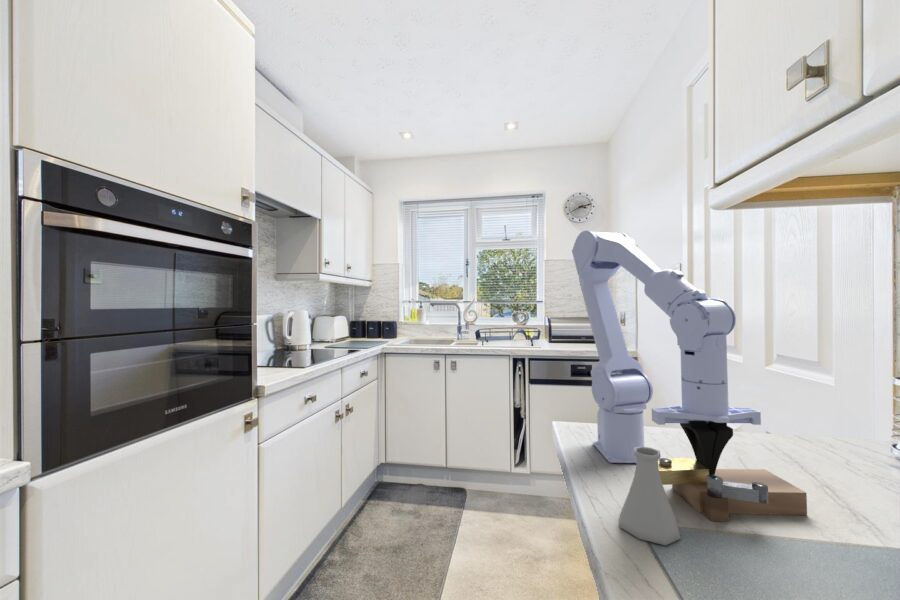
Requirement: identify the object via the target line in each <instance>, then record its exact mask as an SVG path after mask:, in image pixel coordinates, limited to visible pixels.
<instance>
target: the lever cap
mask: <svg viewBox="0 0 900 600" xmlns="http://www.w3.org/2000/svg"><path fill="white" fill-rule="evenodd" d="M658 469H659V474H660V479H661V482H662V485H663V486H665V485H667V486H668V485H671V486H672V484H700V483H707V481H706V476H707V475H709V469H708V468H706V467H705V466H703V465H702V464H700V463H699V462H697V460H696V458H693V457H672V458H671V457H667V458H665V457H660V459H658Z"/></svg>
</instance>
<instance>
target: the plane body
mask: <svg viewBox="0 0 900 600" xmlns="http://www.w3.org/2000/svg"><path fill="white" fill-rule="evenodd" d="M715 476H719V477H721V478H722V479H723V481H725V482H733V483H741V484H749V485H752V482H759V483H763V484H765V485H767V486H768V501H769V504H763V503H758V502H751V501H744V500H736V499H729V498H717V497H713V496H710V495H709V494H707V483H700V484H672V485H671V487H672V489H673V490H674V491H675V492H676V493H677V494H678V495H679V496H680V497H682V498H683V499H684V500H685V501H686V502H687V503H688V504H689V505H690V506H692V508H694V510H696V511H697V512H698V513H699V514H703V515H704V516H705V517H706V518H707V519H709V520H710V521H711V522H729V521H730V520H729V519H730V517H729V515H735V514H736V515H778V516H779V515H780V516H781V515H782V516H783V515H786V516H787V515H790V516H791V515H792V516H794V515H795V516H798V515H799V516H802V515H803V516H808V503H807V502H808V499H807V498H808V497H807V492H806V491H804V490H802V489H800V488H799V487H797V486H795V485H793V484H792V483H790V482H788V481H787V480H785V479H783V478H781V477H779V476H777V475H776V474H774V473H772V472H771V471H768V470H767V469H759V468H758V469H757V468H756V469H752V468H751V469H749V468H747V469H745V468H744V469H741V468H740V469H739V468H736V469H735V468H731V469H730V468H716V471H715Z"/></svg>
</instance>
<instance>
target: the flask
mask: <svg viewBox="0 0 900 600" xmlns="http://www.w3.org/2000/svg"><path fill="white" fill-rule="evenodd" d="M634 455H635V456H636V463H635V464H636V465H635V470H634V474H633V475H634V476H633V479H632V482H631V485H630V488H629V490H628V493H627V495H626V498H625V499H624V500H625V501H624V503H623V506H622V507H621V511H620V513H619V519H618V520H619V521H618V522H619V523H618V527H619V528H621V529H623V531H625V532H627V533H629V534H631V535H632V536H634V537H635V538H637V539H638V540H642V541H647V542H650V543H654V544H658V545H662V546H667V545H669V544H672V543H674V542H676V541H678V540H680V539H682V538H681V532H680V528H679V523H678V522H677V521H678V520H677V519H676V516H675V514H674V511H673V509H672V506H671V503H670V501H669V499H668V496H667V492H666V491H665V488H664V485H662V482H661V479H660V474H659V469H658V459H660V458H662V457H661V451H660V450H659V449H656V448H653V447H649V446H644V447H643V446H639V447H635V448H634Z"/></svg>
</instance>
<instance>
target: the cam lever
mask: <svg viewBox="0 0 900 600" xmlns="http://www.w3.org/2000/svg"><path fill="white" fill-rule="evenodd" d="M706 481H707V494H709V495H710V496H713V497H717V498H729V499H736V500H744V501H751V502H758V503H763V504H769V501H768V486H767V485H765V484H763V483H759V482H752V485H749V484H741V483H733V482H725V481H723V479H722V478H721V477H719V476H715V475H707V476H706Z"/></svg>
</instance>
